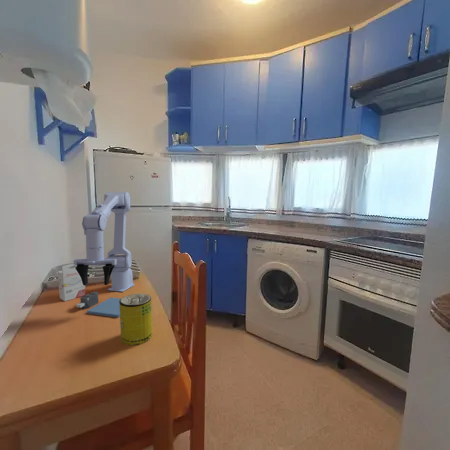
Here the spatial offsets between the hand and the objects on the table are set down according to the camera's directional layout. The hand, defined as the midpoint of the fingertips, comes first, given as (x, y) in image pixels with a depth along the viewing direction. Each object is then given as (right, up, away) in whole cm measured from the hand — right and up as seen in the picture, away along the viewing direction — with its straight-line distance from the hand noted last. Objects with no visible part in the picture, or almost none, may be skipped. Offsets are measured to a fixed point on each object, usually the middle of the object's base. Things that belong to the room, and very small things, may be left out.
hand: (96, 284), depth 97 cm
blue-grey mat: (+5, -10, +4) cm, 12 cm away
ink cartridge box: (-17, -9, +15) cm, 24 cm away
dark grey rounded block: (-6, -10, +7) cm, 13 cm away
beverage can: (+20, -13, -16) cm, 29 cm away
